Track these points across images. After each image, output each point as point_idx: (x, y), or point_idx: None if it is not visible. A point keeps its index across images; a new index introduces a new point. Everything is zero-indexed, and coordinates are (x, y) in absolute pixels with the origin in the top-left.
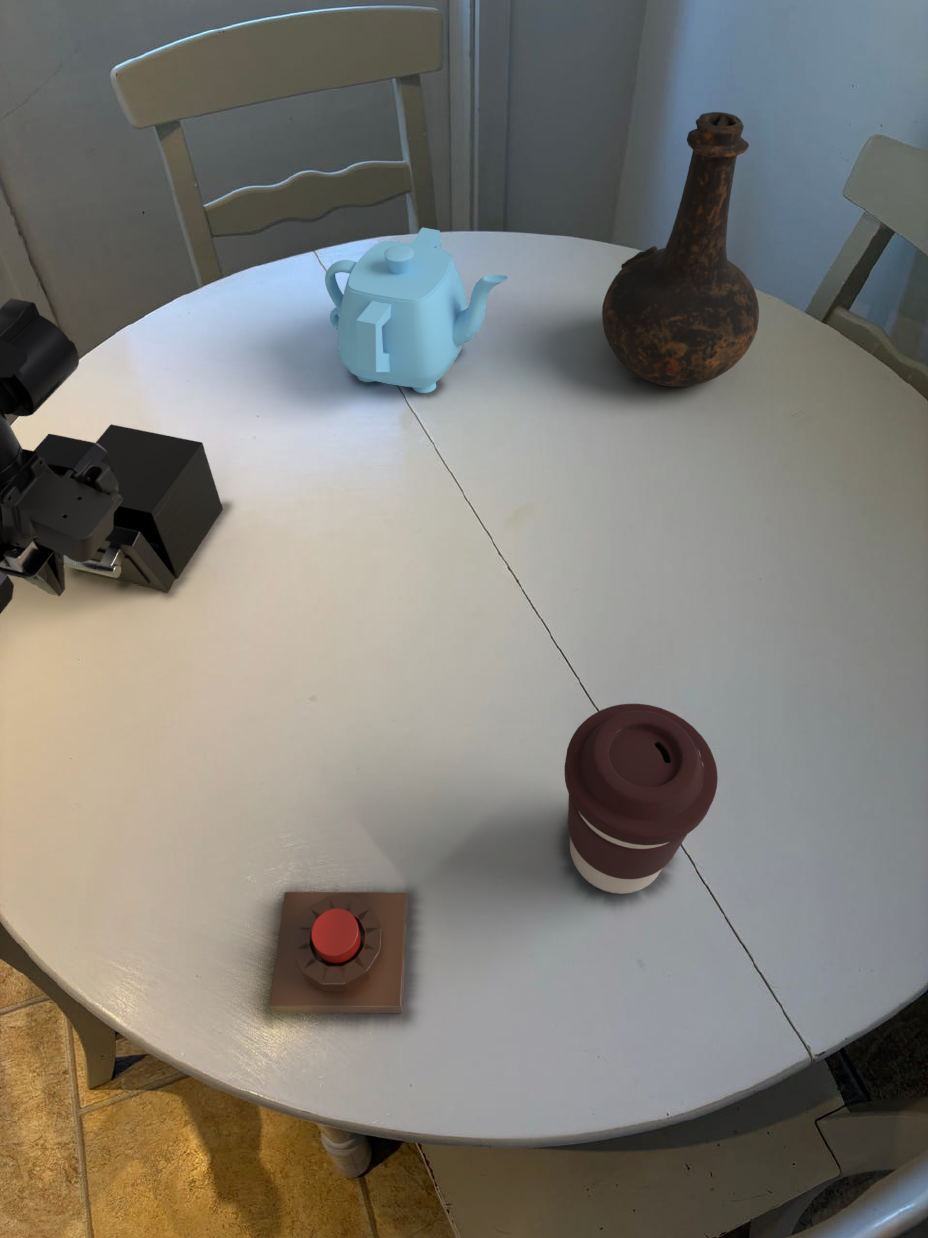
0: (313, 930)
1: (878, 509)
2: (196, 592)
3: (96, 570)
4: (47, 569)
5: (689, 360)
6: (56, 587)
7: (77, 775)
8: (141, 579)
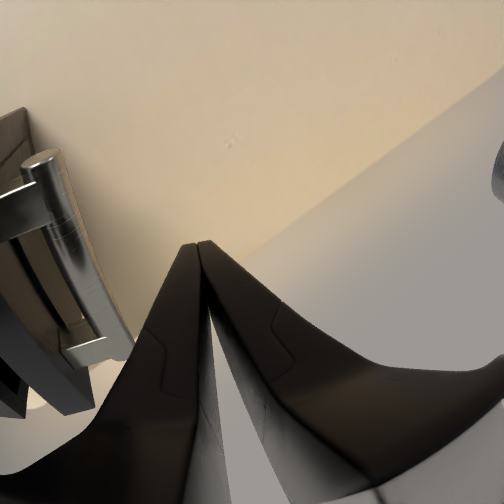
0: None
1: None
2: (5, 63)
3: (74, 215)
4: (271, 343)
5: None
6: (221, 262)
7: (412, 43)
8: (26, 153)
